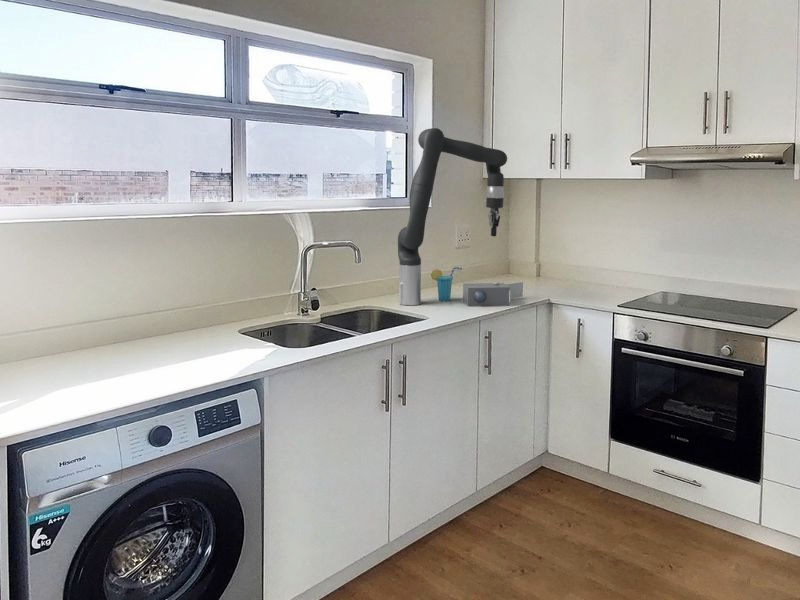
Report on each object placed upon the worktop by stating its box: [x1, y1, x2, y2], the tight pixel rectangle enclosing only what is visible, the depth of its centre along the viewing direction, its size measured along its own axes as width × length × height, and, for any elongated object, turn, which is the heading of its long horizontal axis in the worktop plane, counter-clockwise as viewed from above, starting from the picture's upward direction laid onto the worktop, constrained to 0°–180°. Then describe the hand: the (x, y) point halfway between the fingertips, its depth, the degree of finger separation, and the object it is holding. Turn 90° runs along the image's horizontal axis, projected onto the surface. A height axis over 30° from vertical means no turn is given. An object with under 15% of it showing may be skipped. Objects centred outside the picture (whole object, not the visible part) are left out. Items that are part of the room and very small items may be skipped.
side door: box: [505, 281, 524, 300], centre depth 309 cm, size 2×12×7 cm, turn 127°
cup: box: [430, 266, 462, 302], centre depth 306 cm, size 14×8×15 cm, turn 104°
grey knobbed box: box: [462, 281, 511, 307], centre depth 298 cm, size 18×14×9 cm
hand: (493, 236), depth 306 cm, fingers closed
